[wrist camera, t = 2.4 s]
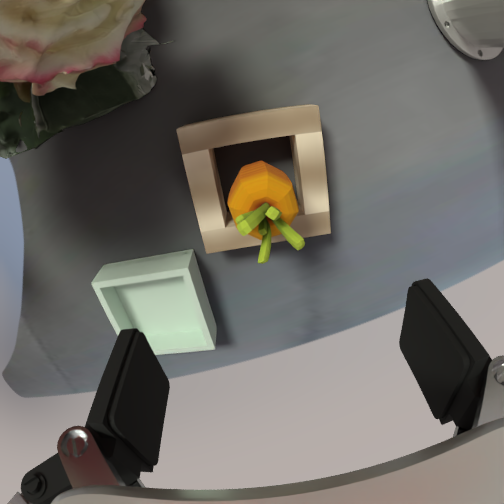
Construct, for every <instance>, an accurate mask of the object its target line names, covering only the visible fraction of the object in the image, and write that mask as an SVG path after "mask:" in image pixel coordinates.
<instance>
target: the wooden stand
mask: <svg viewBox="0 0 504 504" xmlns="http://www.w3.org/2000/svg"><path fill="white" fill-rule="evenodd" d="M176 130H177V135H178V140H179V144H180V148H181V153H182V157H183V161H184V166H185V170H186V174H187V178H188V183H189V187H190V191H191V195H192V199H193V203H194V207H195V211H196V215H197V219H198V223H199V227H200V231H201V234H202V238H203V242H204V246H205V250H206V253H207V254H208V253H214V252H220V251H226V250H232V249H238V248H244V247H250V246H256V245H261V243H262V240H259V239H257V238H255V237H252V236H250V235H248V234H247V235H245V236H242V235H241V234H240V233H239V231H238V230H237V228H236V226H235V223H234V220H233V218H232V215H231V212H227V210H226V205H225V201H224V196H223V191H222V187H221V182H220V177H219V172H218V167H217V163H216V158H215V153H214V148H216V147H222V146H227V145H232V144H238V143H244V142H249V141H255V140H262V139H268V138H275V137H282V136H289V137H290V144H291V151H292V158H293V166H294V173H295V181H296V189H297V197H298V201H297V203H298V207H299V212H298V213H297V215H296V217H295V218H294V220H293V221H292V223H291V225H290V227H291V228H292V229H293V230H294V231H295V232H297V233H298V234H299V235H300V236H301V237H302V238H305V237H311V236H318V235H324V234H330V233H331V229H330V214H329V200H328V188H327V177H326V166H325V157H324V147H323V139H322V130H321V122H320V115H319V107H318V106H317V105H309V104H308V105H299V106H290V107H282V108H274V109H267V110H260V111H254V112H248V113H242V114H236V115H231V116H225V117H220V118H215V119H210V120H205V121H201V122H196V123H192V124H187V125H184V126H182V127H180V128H178V129H176ZM281 241H287V240H286V239H285V237H284V236H283V235H282V234H280V235H277V236H274V237H271V243H274V242H281Z"/></svg>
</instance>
